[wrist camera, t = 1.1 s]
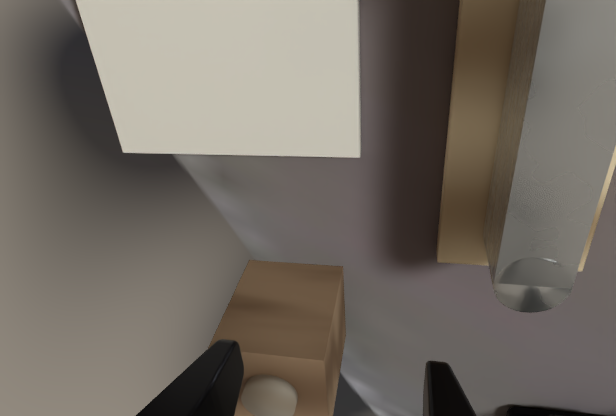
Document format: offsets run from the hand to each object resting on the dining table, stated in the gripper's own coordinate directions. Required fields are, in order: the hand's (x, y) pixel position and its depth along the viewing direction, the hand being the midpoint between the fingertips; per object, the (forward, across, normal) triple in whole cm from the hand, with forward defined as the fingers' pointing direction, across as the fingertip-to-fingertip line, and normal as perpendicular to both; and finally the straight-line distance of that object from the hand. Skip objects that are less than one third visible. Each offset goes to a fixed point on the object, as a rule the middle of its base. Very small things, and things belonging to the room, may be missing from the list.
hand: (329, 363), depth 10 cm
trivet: (+12, +6, -5) cm, 14 cm away
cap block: (+12, +4, +10) cm, 16 cm away
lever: (+11, -6, -3) cm, 13 cm away
